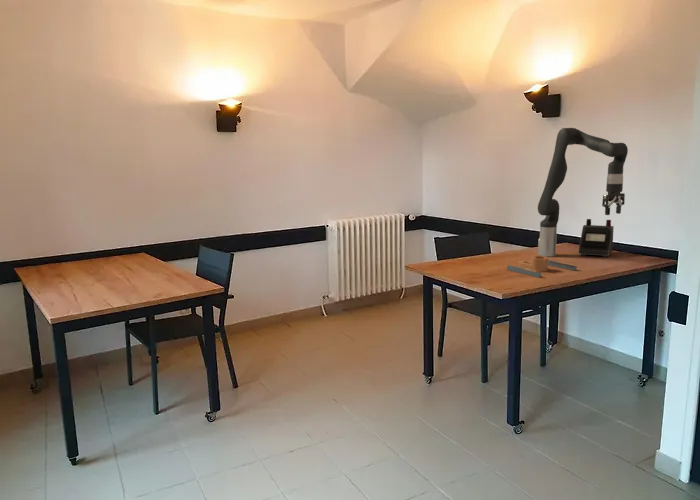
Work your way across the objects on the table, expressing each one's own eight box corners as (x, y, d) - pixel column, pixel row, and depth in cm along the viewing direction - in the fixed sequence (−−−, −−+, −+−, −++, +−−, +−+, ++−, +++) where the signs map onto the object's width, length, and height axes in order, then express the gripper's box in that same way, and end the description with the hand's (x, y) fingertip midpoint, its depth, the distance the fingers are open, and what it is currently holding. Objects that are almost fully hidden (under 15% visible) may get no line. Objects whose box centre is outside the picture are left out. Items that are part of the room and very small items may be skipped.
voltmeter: (578, 256, 322) (579, 222, 319) (583, 251, 336) (584, 218, 333) (608, 258, 314) (610, 223, 311) (612, 253, 328) (613, 219, 324)
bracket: (550, 270, 288) (551, 257, 287) (538, 272, 285) (539, 259, 284) (526, 264, 305) (527, 252, 303) (514, 266, 301) (515, 254, 300)
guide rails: (506, 269, 293) (507, 264, 293) (543, 263, 306) (543, 258, 305) (538, 277, 274) (539, 272, 273) (576, 270, 286) (576, 265, 286)
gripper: (617, 181, 288) (615, 212, 291) (599, 183, 281) (597, 214, 284) (630, 182, 281) (628, 213, 285) (612, 183, 275) (610, 216, 278)
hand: (612, 214), depth 284 cm, fingers open, 8 cm apart
